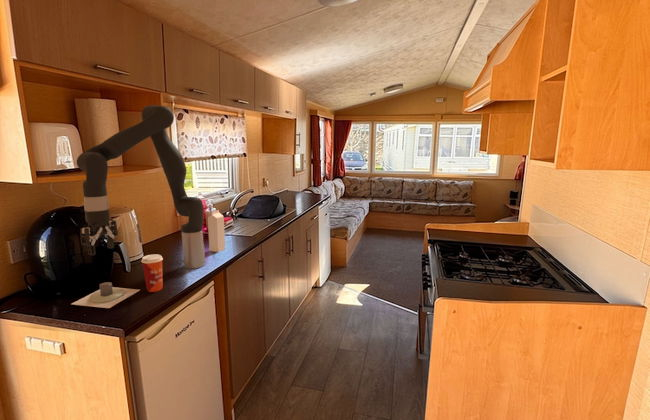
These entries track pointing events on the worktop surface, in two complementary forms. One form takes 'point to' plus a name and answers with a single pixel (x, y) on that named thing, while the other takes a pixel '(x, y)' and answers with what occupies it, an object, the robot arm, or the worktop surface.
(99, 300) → the lid
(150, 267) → the paper cup
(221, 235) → the milk
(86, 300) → the mat
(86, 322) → the worktop surface
